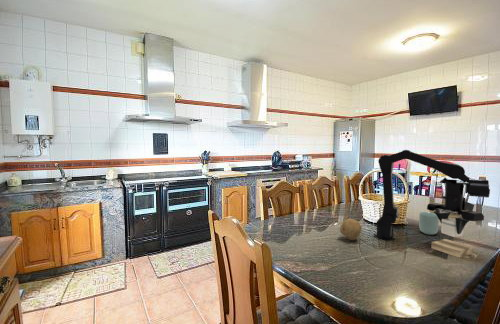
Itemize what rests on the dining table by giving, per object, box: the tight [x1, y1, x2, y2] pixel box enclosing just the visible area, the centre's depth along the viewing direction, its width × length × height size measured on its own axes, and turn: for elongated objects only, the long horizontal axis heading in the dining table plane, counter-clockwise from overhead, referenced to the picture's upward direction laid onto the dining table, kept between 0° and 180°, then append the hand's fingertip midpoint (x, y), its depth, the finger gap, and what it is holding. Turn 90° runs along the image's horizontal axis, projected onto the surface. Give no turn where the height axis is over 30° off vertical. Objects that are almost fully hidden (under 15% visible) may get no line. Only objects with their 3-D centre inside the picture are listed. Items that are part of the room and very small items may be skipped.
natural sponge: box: [339, 218, 362, 241], centre depth 112 cm, size 9×9×10 cm
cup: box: [418, 211, 440, 236], centre depth 121 cm, size 8×8×10 cm
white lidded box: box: [440, 217, 465, 238], centre depth 100 cm, size 5×5×6 cm
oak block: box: [431, 238, 474, 258], centre depth 101 cm, size 10×10×3 cm
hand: (452, 231), depth 100 cm, fingers closed on white lidded box, 5 cm apart
